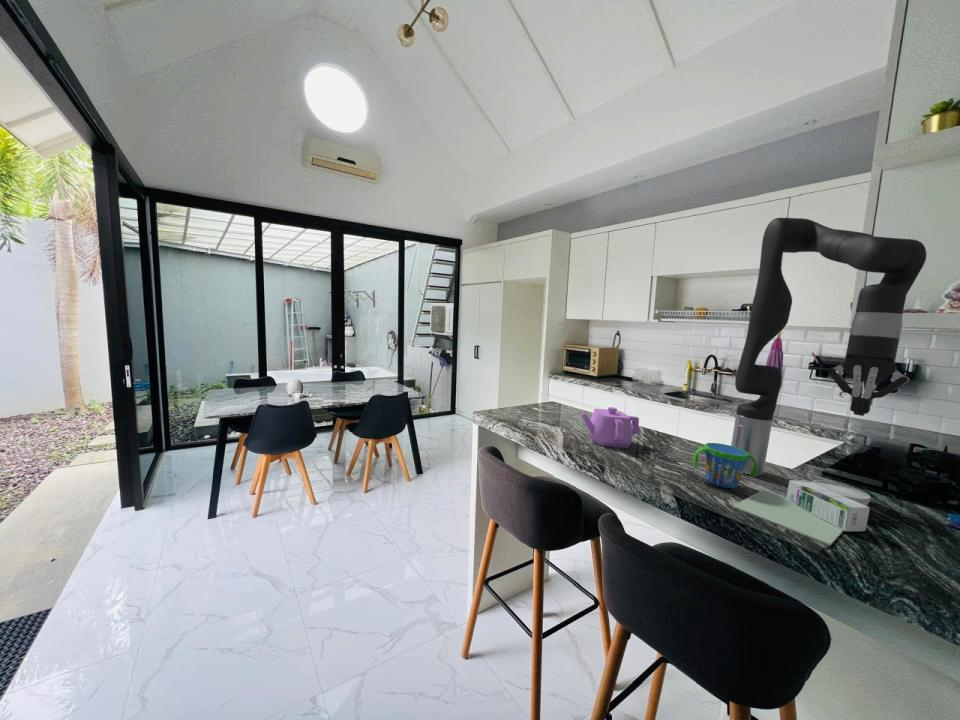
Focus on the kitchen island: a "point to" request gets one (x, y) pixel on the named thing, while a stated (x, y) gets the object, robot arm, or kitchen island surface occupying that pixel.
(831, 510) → the syrup box
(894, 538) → the kitchen island surface
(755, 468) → the snack cup
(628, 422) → the teakettle
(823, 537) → the mat
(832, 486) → the ramekin
